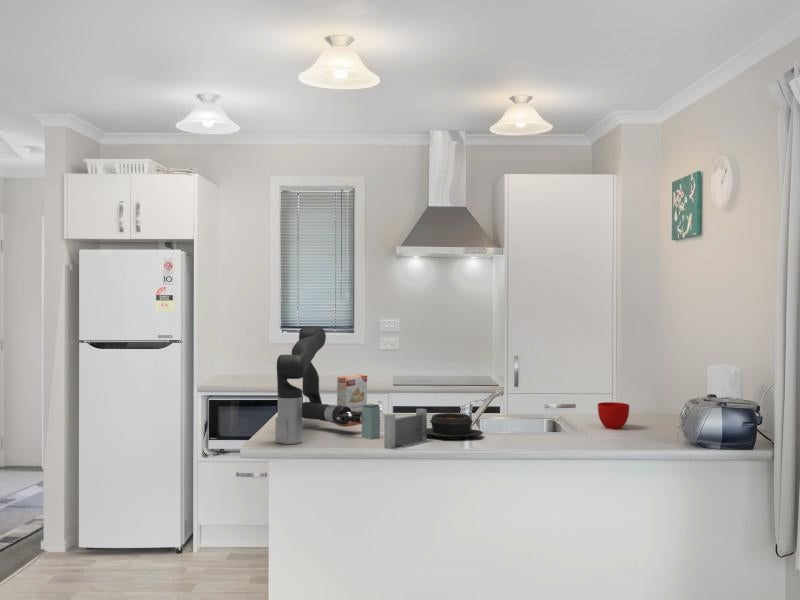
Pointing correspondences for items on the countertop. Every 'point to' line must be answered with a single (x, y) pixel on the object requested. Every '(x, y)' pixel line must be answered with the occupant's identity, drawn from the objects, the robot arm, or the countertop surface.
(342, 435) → the countertop surface
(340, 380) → the cracker box
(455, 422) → the casserole
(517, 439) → the countertop surface
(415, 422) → the grey wall block
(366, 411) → the block
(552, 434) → the countertop surface
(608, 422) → the ceramic cup
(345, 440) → the countertop surface
